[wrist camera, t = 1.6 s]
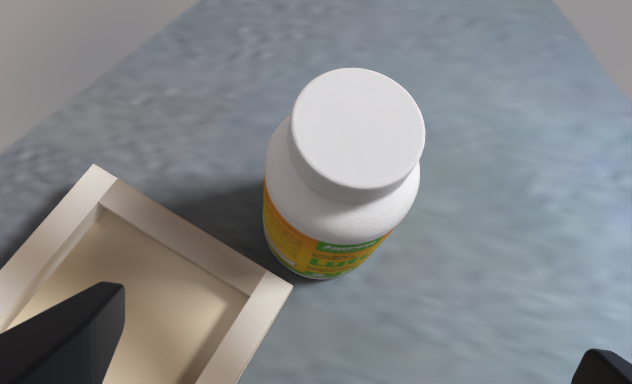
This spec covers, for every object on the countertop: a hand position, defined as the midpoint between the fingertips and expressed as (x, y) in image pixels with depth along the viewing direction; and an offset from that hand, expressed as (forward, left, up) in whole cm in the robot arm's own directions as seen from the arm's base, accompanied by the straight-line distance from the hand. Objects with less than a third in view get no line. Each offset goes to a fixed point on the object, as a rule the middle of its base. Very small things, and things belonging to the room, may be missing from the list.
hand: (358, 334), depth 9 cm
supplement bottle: (+5, +2, -12) cm, 14 cm away
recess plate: (-3, +7, -12) cm, 14 cm away
